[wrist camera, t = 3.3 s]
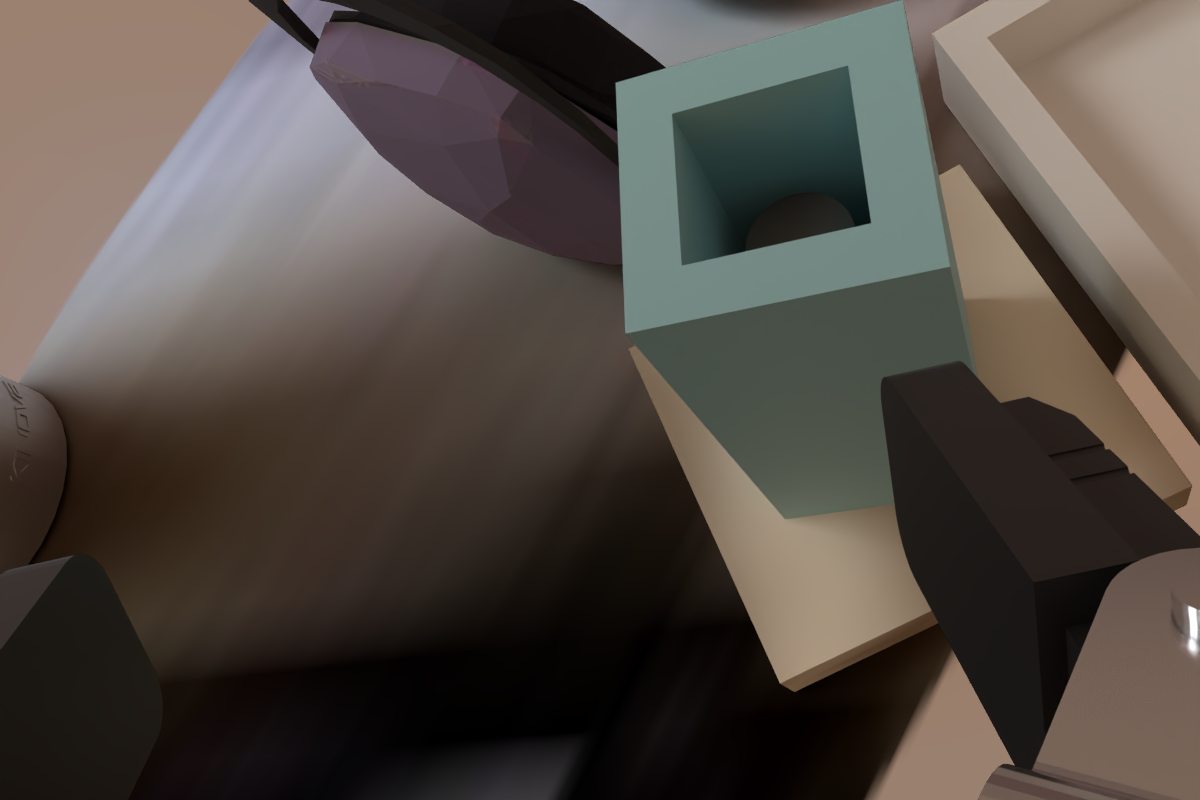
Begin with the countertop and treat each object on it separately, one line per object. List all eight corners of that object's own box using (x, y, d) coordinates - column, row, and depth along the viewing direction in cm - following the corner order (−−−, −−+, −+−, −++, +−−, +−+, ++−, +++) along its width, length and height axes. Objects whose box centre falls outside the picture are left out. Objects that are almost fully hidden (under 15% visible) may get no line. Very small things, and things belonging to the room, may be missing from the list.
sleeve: (998, 489, 25) (949, 266, 16) (784, 519, 27) (625, 333, 17) (964, 299, 27) (902, -1, 18) (767, 337, 29) (615, 82, 19)
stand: (794, 691, 27) (659, 611, 18) (646, 369, 31) (485, 186, 23) (1186, 504, 25) (1243, 317, 16) (964, 194, 30) (918, -76, 21)
